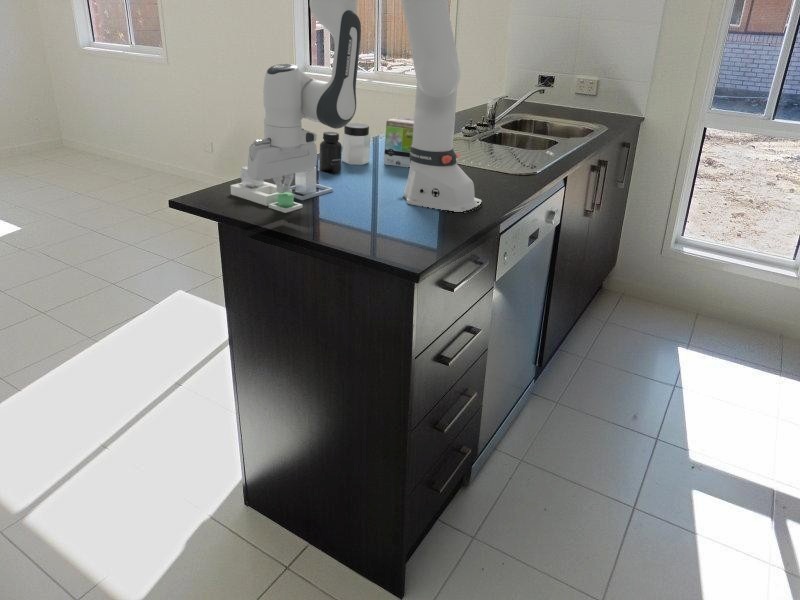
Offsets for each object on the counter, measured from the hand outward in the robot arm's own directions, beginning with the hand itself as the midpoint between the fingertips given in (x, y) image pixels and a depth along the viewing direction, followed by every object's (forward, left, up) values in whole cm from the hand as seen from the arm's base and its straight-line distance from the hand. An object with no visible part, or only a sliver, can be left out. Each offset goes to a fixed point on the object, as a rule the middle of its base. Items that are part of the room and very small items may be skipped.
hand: (283, 191), depth 157 cm
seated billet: (+14, -2, -4) cm, 14 cm away
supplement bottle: (+18, -38, -5) cm, 43 cm away
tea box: (+7, -65, -5) cm, 66 cm away
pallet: (+10, -2, -5) cm, 12 cm away
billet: (+5, -14, -4) cm, 15 cm away
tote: (+5, -14, -5) cm, 15 cm away
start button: (-1, 0, -4) cm, 4 cm away
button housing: (-1, 0, -5) cm, 5 cm away
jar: (+21, -54, -5) cm, 58 cm away
